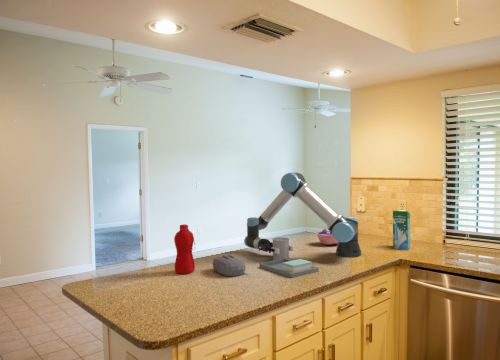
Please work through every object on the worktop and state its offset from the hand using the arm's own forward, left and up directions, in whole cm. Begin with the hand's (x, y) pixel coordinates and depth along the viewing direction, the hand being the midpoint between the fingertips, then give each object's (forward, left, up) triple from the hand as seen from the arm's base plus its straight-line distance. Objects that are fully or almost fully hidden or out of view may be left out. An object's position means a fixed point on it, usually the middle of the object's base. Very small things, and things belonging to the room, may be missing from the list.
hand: (285, 250), depth 218 cm
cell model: (-13, -56, -7) cm, 58 cm away
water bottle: (+41, +41, -7) cm, 58 cm away
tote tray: (-8, +20, -7) cm, 22 cm away
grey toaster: (+20, +32, -7) cm, 38 cm away
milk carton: (-59, -61, -7) cm, 85 cm away
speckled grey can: (+4, -2, -7) cm, 8 cm away
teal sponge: (-14, +23, -6) cm, 28 cm away
